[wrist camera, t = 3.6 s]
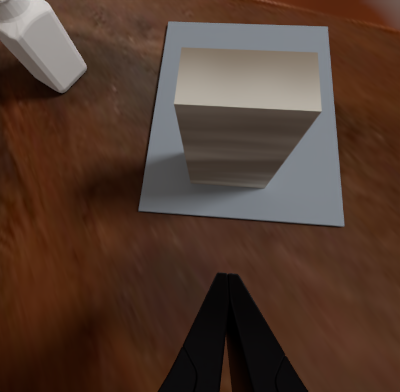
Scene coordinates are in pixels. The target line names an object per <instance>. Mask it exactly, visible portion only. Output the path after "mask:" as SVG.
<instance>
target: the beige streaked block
mask: <svg viewBox="0 0 400 392" xmlns="http://www.w3.org/2000/svg"><path fill="white" fill-rule="evenodd" d="M174 107H175V111H176V116H177V121H178V126H179V130H180V135H181V140H182V144H183V149H184V154H185V159H186V163H187V168H188V173H189V177H190V182H191V183H193V184H207V185H222V186H236V187H251V188H265V187H266V186H267V185H268V183H269V182H270V181H271V179H272V178H273V177H274V175H275V174H276V172H277V171H278V170H279V168H280V167H281V166H282V164H283V163H284V162H285V160H286V159H287V158H288V156H289V155H290V154H291V152H292V151H293V150H294V148H295V147H296V146H297V144H298V143H299V141H300V140H301V139H302V137H303V136H304V135H305V133H306V132H307V131H308V129H309V128H310V127H311V125H312V124H313V123H314V121H315V120H316V119H317V117H318V116H319V115H320V113H321V112H322V108H321V93H320V78H319V63H318V52H293V51H266V50H239V49H213V48H186V47H181V55H180V62H179V70H178V77H177V85H176V92H175V100H174Z"/></svg>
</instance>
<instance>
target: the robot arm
mask: <svg viewBox="0 0 400 392" xmlns="http://www.w3.org/2000/svg"><path fill="white" fill-rule="evenodd" d="M225 337H226V340H227V349H228V358H229V367H230V376H231V386H232V392H308V390H307V389H306V387H305V386H304V384H303V383H302V381H301V379H300V378H299V376H298V375H297V373H296V371H295V370H294V368H293V366H292V365H291V363H290V361H289V360H288V358H287V356H285V353H284V351H283V350H282V348H281V346H280V344H279V343H278V341H277V339H276V338H275V336H274V334H273V333H272V331H271V329H270V327H269V326H268V324H267V322H266V321H265V319H264V317H263V316H262V314H261V312H260V310H259V309H258V307H257V305H256V304H255V302H254V300H253V298H252V297H251V295H250V293H249V292H248V290H247V288H246V287H245V285H244V283H243V281H242V280H241V278H240V276H239V275H238V274H233V273H229V274H228V275H227V273H217V274H216V276H215V278H214V280H213V282H212V285H211V287H210V289H209V291H208V293H207V295H206V297H205V299H204V301H203V304H202V306H201V308H200V310H199V312H198V314H197V316H196V318H195V320H194V323H193V325H192V327H191V329H190V331H189V333H188V335H187V337H186V339H185V342H184V344H183V347H182V348H181V350H180V352H179V354H178V356H177V358H176V360H175V362H174V364H173V366H172V368H171V370H170V372H169V373H168V375H167V377H166V379H165V380H164V382H163V384H162V385H161V387H160V389H159V390H158V392H220V383H221V373H222V364H223V355H224V346H225ZM284 356H285V357H284Z"/></svg>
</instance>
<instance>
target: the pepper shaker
mask: <svg viewBox="0 0 400 392" xmlns="http://www.w3.org/2000/svg"><path fill="white" fill-rule="evenodd" d="M0 40H1V41H2V43H3V44H4V45H5V46H6V47H7V48H8V49H9V50H10V51H11V52H12V53H13V54H14V56H15V57H16V58H17V59H18V60H19V61H20V62H21V63H22V64H23V65H24V66H25V67H26V68H27V70H28V71H29V72H30V73H31V74H32V75H33V76H34V77H35V78H36V79H38V80H40V81H41V82H43V83H44V84H46V85H47V86H49V87H50V88H52V89H54V90H55V91H57V92H59V93H64V92H66V91H67V90H68V89H69V88H70V87H71V86H72V85H73V84H74V83H75V82H76V81H77V80H78V79H79V78H80V77H81V76H82V75H83V74H84V73H85V71H86V69H87V66H86V64H85V62H84V60H83V59H82V57H81V55H80V54H79V52H78V51H77V49H76V47H75V46H74V44H73V42H72V41H71V39H70V37H69V36H68V34H67V33H66V31H65V29H64V28H63V26H62V24H61V23H60V21H59V19H58V18H57V16H56V15H55V13H54V11H53V10H52V8H51V6H50V5H49V4H48V3H47V2H46V1H44V0H0Z"/></svg>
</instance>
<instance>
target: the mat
mask: <svg viewBox="0 0 400 392" xmlns="http://www.w3.org/2000/svg"><path fill="white" fill-rule="evenodd" d="M181 47H186V48H213V49H239V50H266V51H293V52H318V63H319V78H320V93H321V108H322V112H321V113H320V115H319V116H318V117H317V119H316V120H315V121H314V123H313V124H312V125H311V127H310V128H309V129H308V131H307V132H306V133H305V135H304V136H303V137H302V139H301V140H300V141H299V143H298V144H297V146H296V147H295V148H294V150H293V151H292V152H291V154H290V155H289V156H288V158H287V159H286V160H285V162H284V163H283V164H282V166H281V167H280V168H279V170H278V171H277V172H276V174H275V175H274V177H273V178H272V179H271V181H270V182H269V183H268V185H267V186H266V187H265V188H251V187H236V186H222V185H207V184H193V183H191V182H190V177H189V173H188V168H187V163H186V159H185V154H184V149H183V144H182V140H181V135H180V130H179V126H178V121H177V116H176V111H175V107H174V100H175V92H176V85H177V77H178V70H179V62H180V55H181ZM139 211H142V212H155V213H168V214H181V215H194V216H207V217H220V218H233V219H246V220H260V221H273V222H286V223H299V224H312V225H325V226H338V227H343V226H344V216H343V204H342V192H341V180H340V168H339V157H338V145H337V133H336V121H335V109H334V98H333V86H332V74H331V62H330V50H329V39H328V27H320V26H288V25H257V24H225V23H194V22H168V29H167V35H166V41H165V47H164V54H163V60H162V66H161V72H160V79H159V85H158V91H157V98H156V104H155V110H154V116H153V123H152V129H151V135H150V142H149V148H148V154H147V160H146V167H145V173H144V179H143V185H142V192H141V198H140V204H139Z"/></svg>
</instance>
